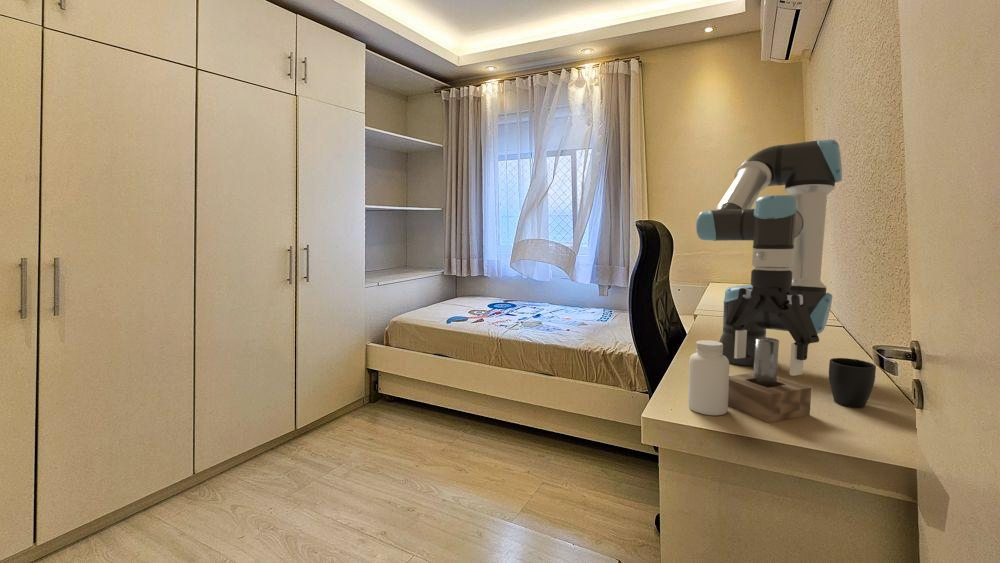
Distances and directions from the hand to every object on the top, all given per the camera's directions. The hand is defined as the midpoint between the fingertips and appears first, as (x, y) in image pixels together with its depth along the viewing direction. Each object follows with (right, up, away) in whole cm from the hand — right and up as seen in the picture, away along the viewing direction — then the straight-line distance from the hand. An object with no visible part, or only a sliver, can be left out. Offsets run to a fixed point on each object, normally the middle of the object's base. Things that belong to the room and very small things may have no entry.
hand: (766, 365), depth 97 cm
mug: (+23, -9, +5) cm, 25 cm away
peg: (0, -8, +1) cm, 8 cm away
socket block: (0, -10, +1) cm, 10 cm away
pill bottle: (-13, -10, +1) cm, 16 cm away
